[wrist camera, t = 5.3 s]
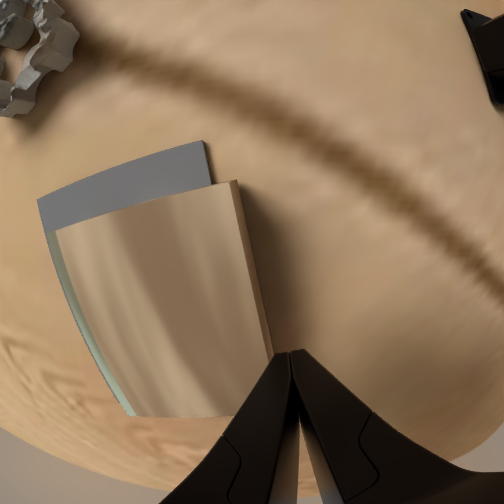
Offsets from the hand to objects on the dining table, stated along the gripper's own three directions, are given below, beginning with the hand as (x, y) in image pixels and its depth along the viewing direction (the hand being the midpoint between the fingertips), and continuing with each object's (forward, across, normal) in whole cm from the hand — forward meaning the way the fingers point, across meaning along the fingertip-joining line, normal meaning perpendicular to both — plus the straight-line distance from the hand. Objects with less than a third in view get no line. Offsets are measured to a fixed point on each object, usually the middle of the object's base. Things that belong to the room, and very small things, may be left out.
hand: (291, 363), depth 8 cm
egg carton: (+6, +12, -18) cm, 23 cm away
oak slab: (+4, +1, 0) cm, 4 cm away
